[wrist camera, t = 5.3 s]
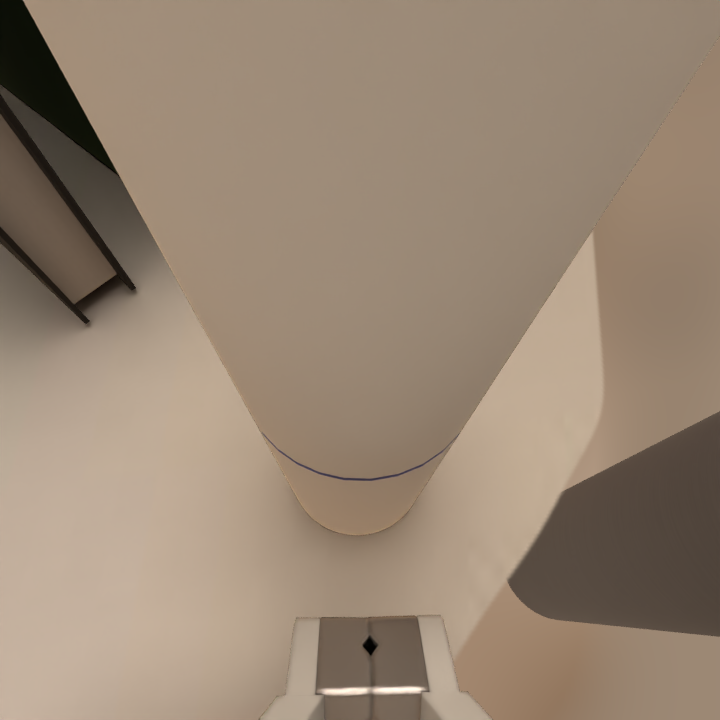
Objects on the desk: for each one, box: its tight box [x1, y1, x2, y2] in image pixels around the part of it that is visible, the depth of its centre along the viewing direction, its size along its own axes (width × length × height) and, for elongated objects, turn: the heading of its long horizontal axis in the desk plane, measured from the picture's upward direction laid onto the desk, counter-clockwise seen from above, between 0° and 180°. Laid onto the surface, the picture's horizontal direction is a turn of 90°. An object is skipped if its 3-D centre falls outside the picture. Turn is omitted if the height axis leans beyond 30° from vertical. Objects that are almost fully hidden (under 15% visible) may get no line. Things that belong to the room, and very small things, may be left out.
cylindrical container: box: [23, 0, 720, 535], centre depth 14 cm, size 7×7×25 cm
